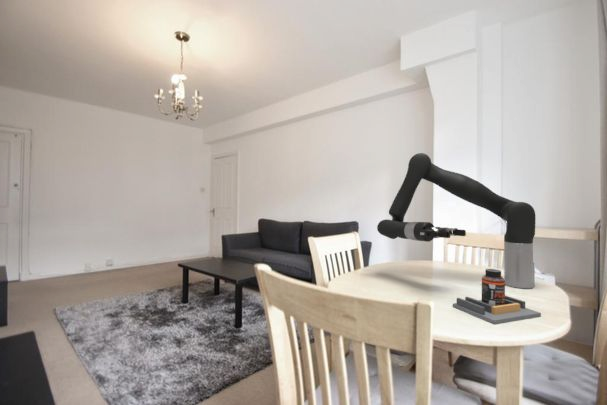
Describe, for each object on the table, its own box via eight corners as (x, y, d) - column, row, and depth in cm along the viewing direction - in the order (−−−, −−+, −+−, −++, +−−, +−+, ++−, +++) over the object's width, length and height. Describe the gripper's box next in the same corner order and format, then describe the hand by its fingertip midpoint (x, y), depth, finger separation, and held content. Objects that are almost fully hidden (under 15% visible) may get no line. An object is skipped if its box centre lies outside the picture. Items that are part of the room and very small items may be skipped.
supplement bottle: (497, 312, 84) (497, 273, 84) (477, 305, 90) (477, 269, 90) (509, 308, 87) (509, 270, 87) (488, 302, 92) (488, 267, 92)
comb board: (495, 300, 97) (495, 292, 97) (540, 316, 84) (540, 305, 84) (452, 306, 92) (452, 297, 92) (494, 324, 78) (494, 313, 78)
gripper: (406, 222, 112) (443, 224, 98) (430, 220, 119) (469, 222, 105) (406, 242, 112) (444, 246, 98) (431, 239, 119) (470, 242, 105)
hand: (457, 233), depth 101 cm, fingers open, 8 cm apart
